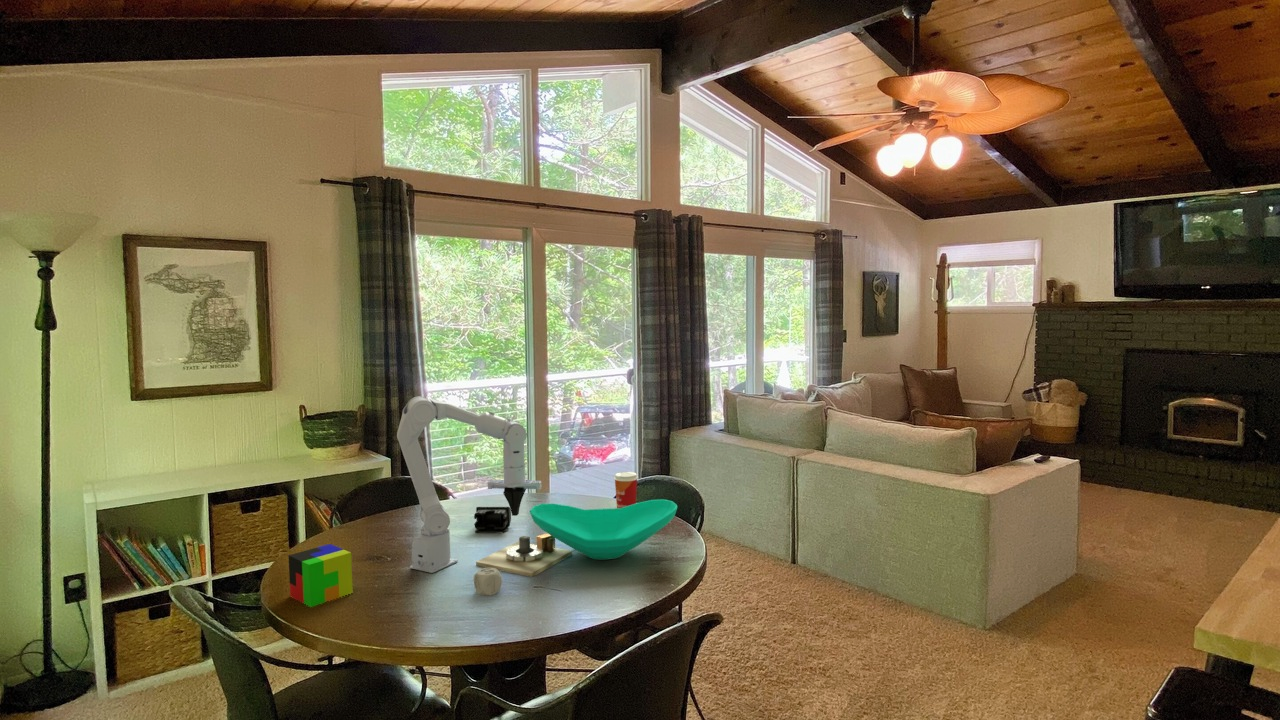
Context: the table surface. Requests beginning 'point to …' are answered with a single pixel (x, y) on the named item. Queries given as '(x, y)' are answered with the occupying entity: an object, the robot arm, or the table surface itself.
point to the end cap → (492, 519)
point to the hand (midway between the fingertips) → (515, 514)
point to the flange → (535, 550)
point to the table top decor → (604, 526)
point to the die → (487, 581)
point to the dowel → (549, 545)
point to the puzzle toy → (320, 574)
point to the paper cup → (625, 488)
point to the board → (525, 567)
